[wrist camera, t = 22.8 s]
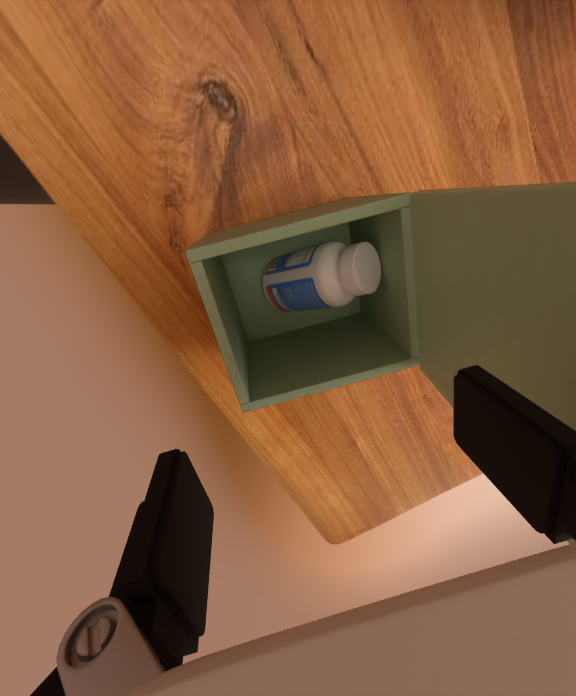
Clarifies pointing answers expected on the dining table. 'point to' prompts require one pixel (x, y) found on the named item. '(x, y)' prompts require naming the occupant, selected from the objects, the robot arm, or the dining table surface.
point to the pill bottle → (321, 276)
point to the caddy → (309, 325)
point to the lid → (499, 288)
